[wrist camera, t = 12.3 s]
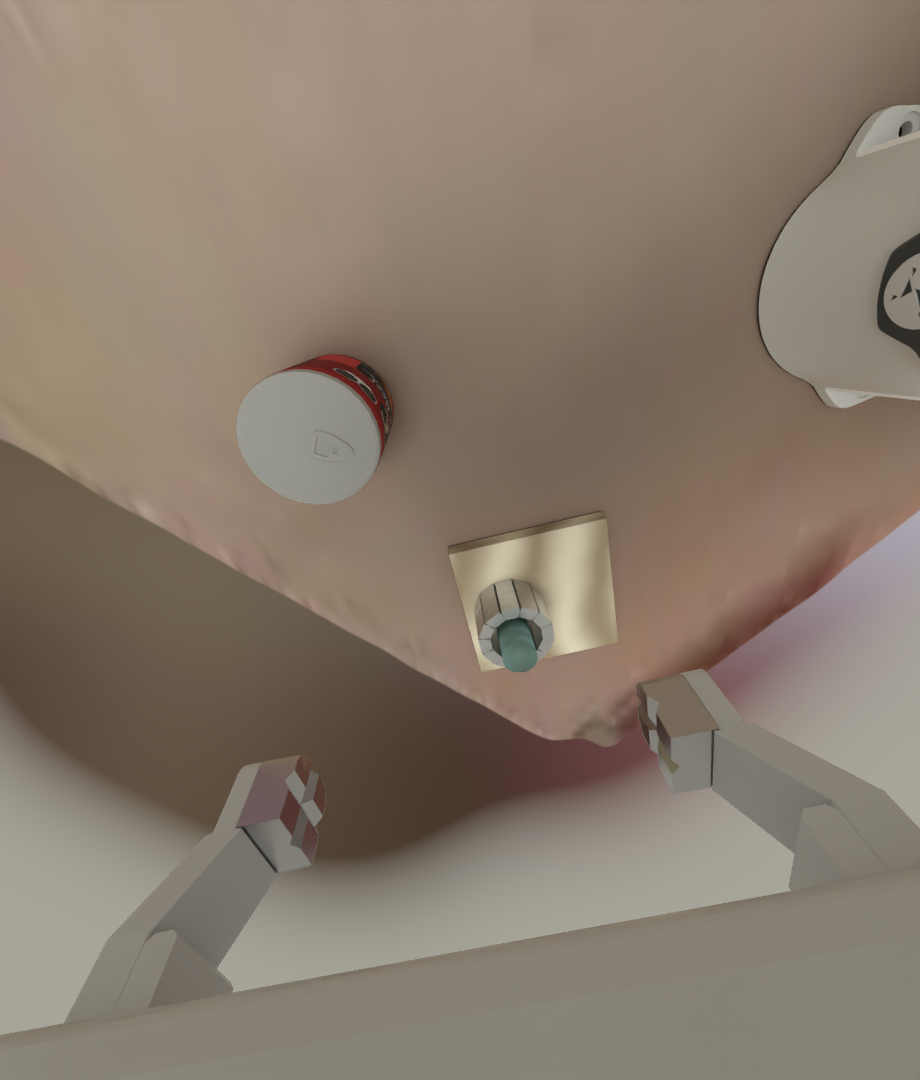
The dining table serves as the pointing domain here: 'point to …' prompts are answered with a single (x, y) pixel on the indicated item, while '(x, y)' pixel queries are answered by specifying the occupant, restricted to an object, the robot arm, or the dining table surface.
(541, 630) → the grey segmented ring
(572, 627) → the green peg on board
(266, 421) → the canned food
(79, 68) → the dining table surface
